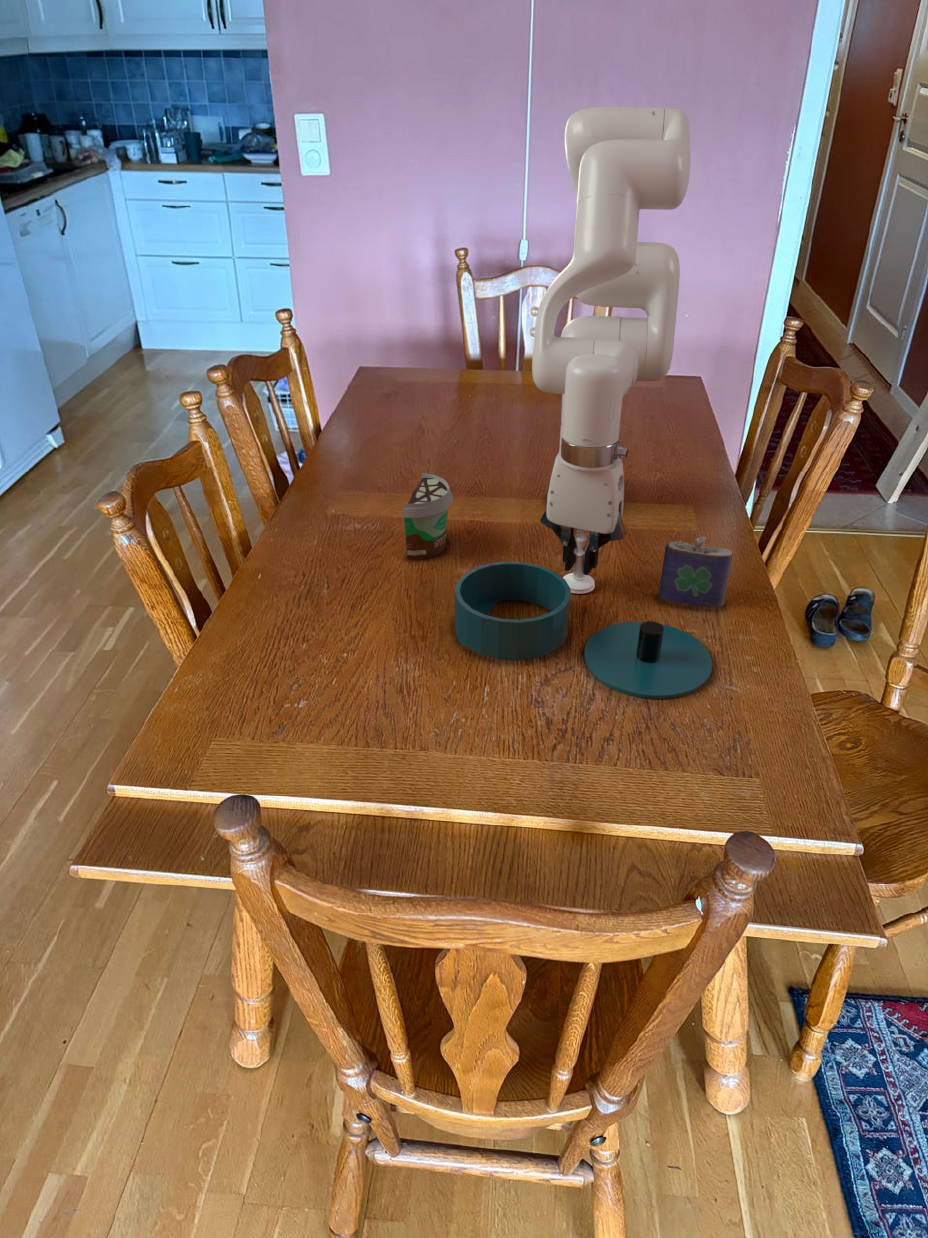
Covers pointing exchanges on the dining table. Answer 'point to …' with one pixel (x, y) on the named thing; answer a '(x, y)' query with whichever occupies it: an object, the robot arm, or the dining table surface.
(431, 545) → the food container
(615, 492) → the robot arm
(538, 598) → the pot
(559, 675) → the dining table surface
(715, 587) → the flask
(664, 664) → the pot lid
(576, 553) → the chess piece
